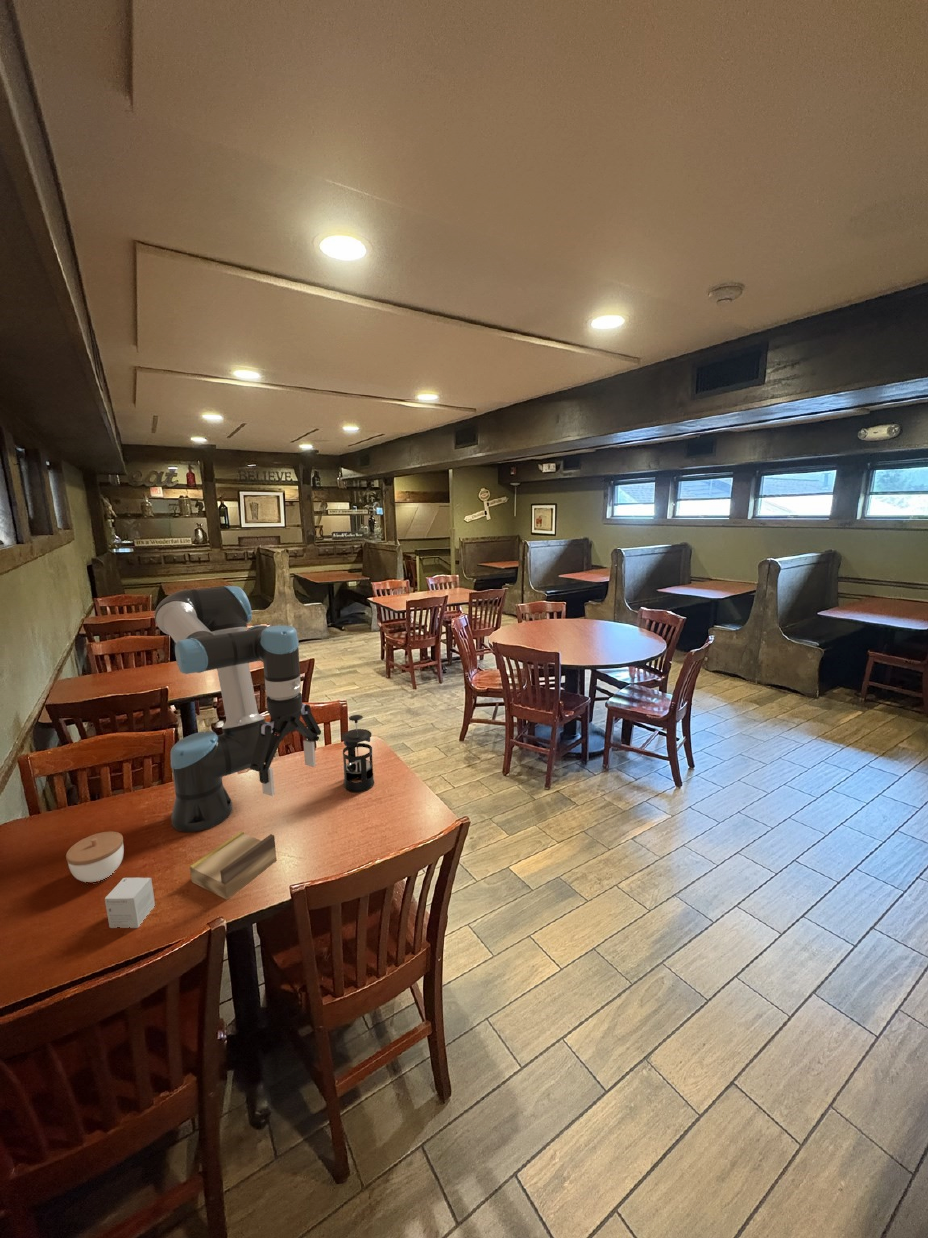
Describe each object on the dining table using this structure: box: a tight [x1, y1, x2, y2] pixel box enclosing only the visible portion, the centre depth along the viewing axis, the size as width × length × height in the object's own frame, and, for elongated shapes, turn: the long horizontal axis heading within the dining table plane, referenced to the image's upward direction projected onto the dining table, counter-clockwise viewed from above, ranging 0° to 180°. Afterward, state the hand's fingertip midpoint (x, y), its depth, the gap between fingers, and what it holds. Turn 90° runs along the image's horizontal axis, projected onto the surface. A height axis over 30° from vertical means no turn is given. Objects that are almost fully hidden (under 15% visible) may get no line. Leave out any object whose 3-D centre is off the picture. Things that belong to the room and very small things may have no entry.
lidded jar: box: [65, 831, 125, 883], centre depth 115 cm, size 11×11×9 cm
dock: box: [189, 831, 277, 901], centre depth 116 cm, size 12×14×7 cm
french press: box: [341, 714, 375, 794], centre depth 152 cm, size 12×9×23 cm
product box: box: [104, 876, 156, 929], centre depth 103 cm, size 6×6×7 cm
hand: (290, 779), depth 115 cm, fingers open, 13 cm apart
